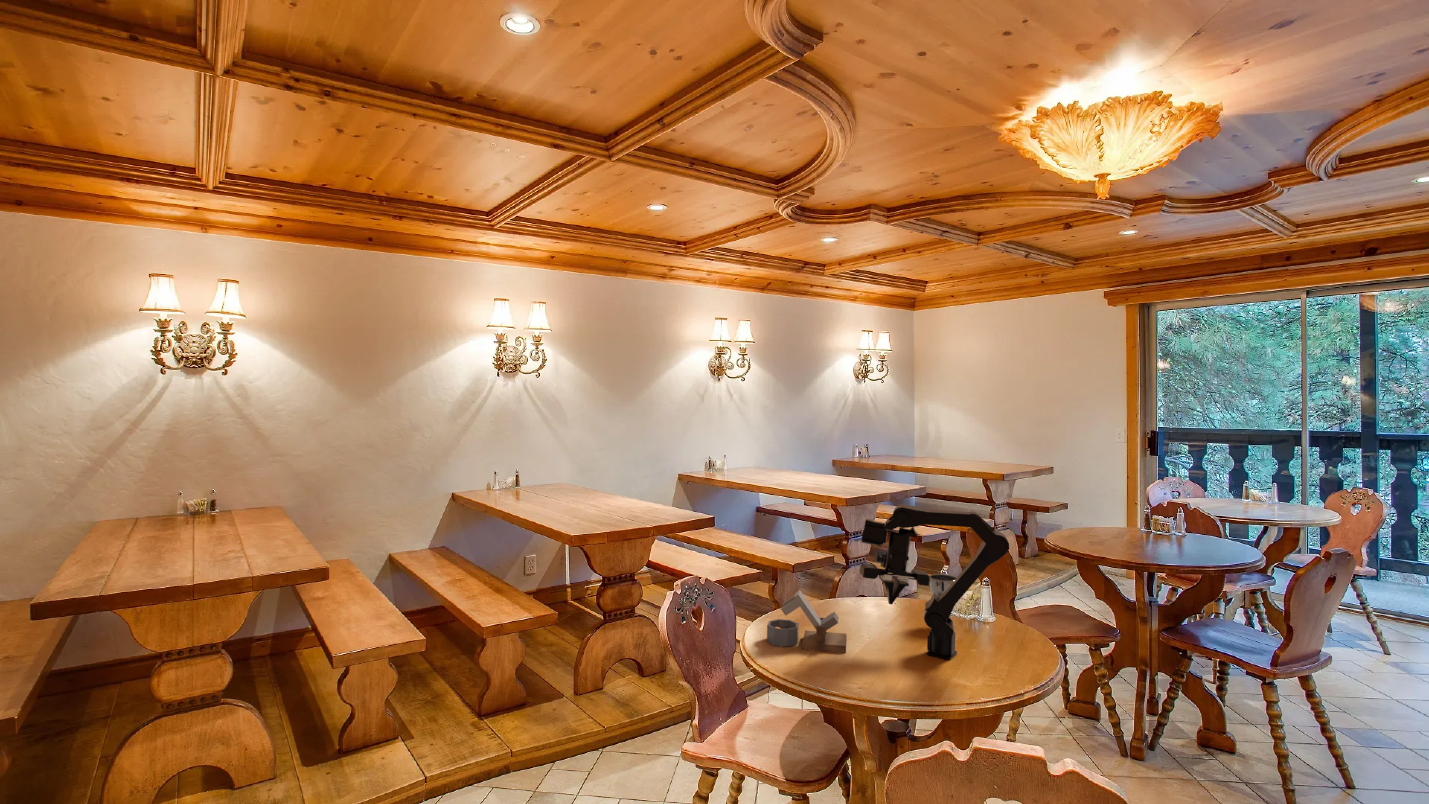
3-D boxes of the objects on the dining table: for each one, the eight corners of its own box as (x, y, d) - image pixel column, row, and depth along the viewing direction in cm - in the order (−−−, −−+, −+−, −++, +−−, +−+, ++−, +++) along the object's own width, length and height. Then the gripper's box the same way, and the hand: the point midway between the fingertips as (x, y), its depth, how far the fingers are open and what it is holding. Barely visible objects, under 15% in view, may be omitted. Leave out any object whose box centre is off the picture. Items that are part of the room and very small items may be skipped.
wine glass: (923, 622, 223) (924, 575, 223) (944, 620, 226) (945, 573, 226) (940, 631, 216) (940, 581, 216) (961, 628, 219) (962, 579, 218)
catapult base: (846, 640, 207) (846, 618, 207) (845, 653, 197) (846, 629, 197) (804, 637, 209) (805, 615, 209) (802, 649, 200) (802, 626, 199)
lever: (839, 618, 205) (813, 580, 207) (839, 625, 200) (811, 586, 201) (807, 639, 207) (781, 601, 208) (806, 646, 201) (779, 607, 203)
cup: (799, 637, 209) (799, 620, 209) (796, 648, 201) (796, 630, 200) (769, 635, 211) (769, 618, 211) (765, 645, 202) (766, 628, 202)
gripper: (922, 546, 208) (914, 598, 209) (859, 538, 208) (851, 590, 209) (934, 556, 197) (926, 611, 198) (867, 548, 197) (859, 603, 198)
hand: (890, 603), depth 201 cm, fingers closed
